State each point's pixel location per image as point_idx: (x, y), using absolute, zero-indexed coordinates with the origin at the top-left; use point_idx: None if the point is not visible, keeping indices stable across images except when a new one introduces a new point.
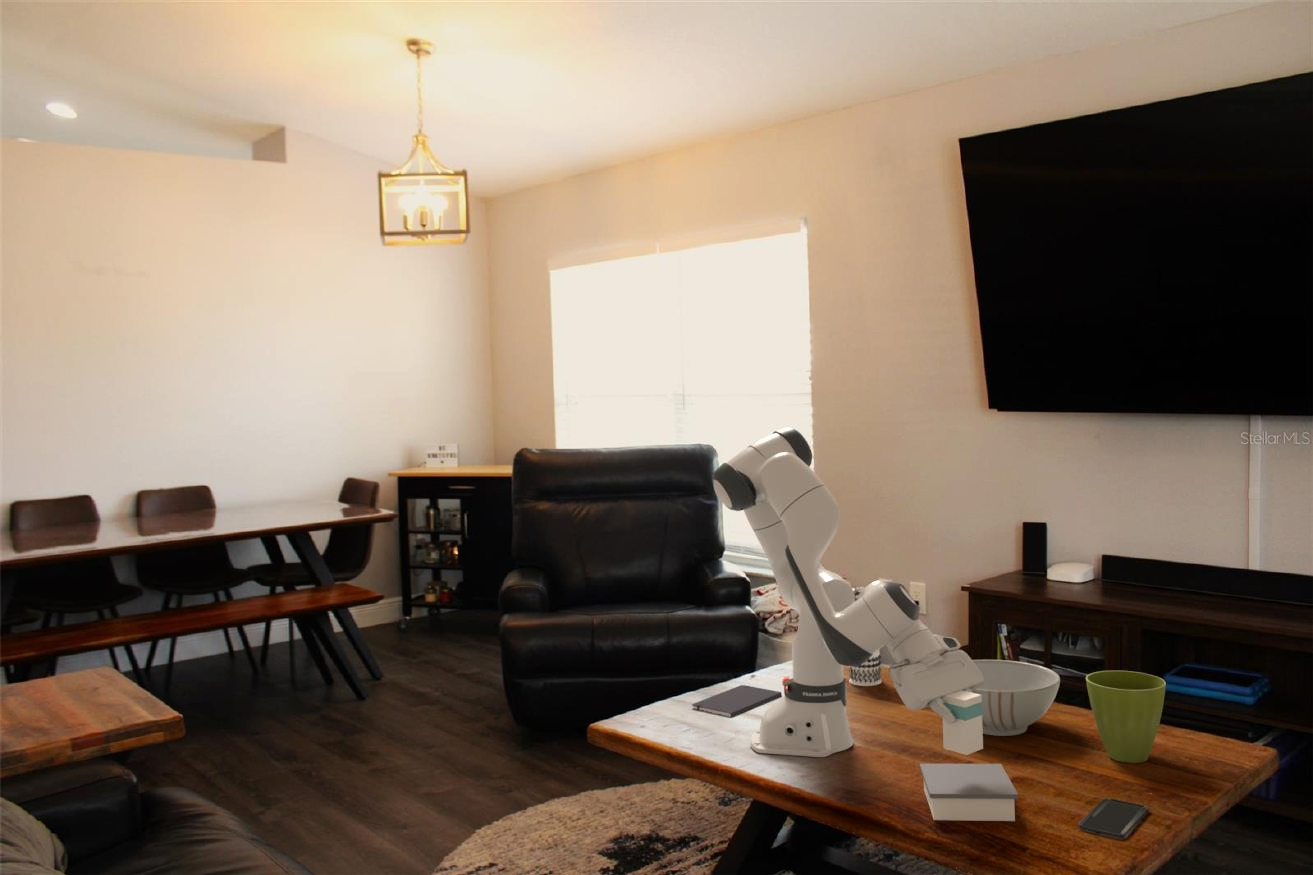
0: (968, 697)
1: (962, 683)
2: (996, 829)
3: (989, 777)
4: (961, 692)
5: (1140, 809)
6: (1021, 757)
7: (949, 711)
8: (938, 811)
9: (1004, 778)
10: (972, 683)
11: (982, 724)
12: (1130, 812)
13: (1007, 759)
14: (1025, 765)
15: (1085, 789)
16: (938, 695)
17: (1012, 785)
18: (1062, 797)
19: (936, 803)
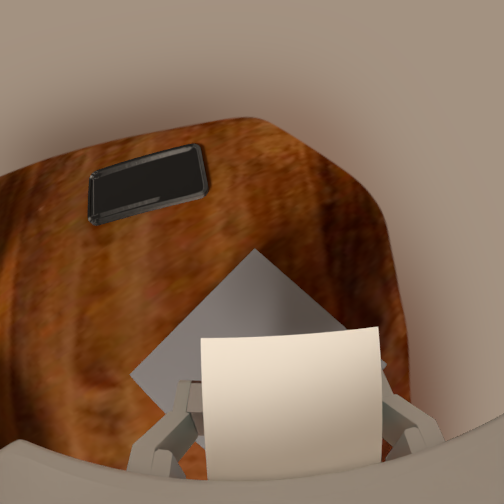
0: (314, 356)
1: (178, 501)
2: (306, 273)
3: None
4: (252, 456)
5: (100, 176)
6: (24, 411)
7: (387, 394)
8: None
9: (197, 320)
10: (95, 469)
11: None
12: (116, 177)
13: (42, 426)
14: (41, 392)
15: (65, 272)
16: (446, 443)
17: (220, 285)
18: (110, 278)
19: None
